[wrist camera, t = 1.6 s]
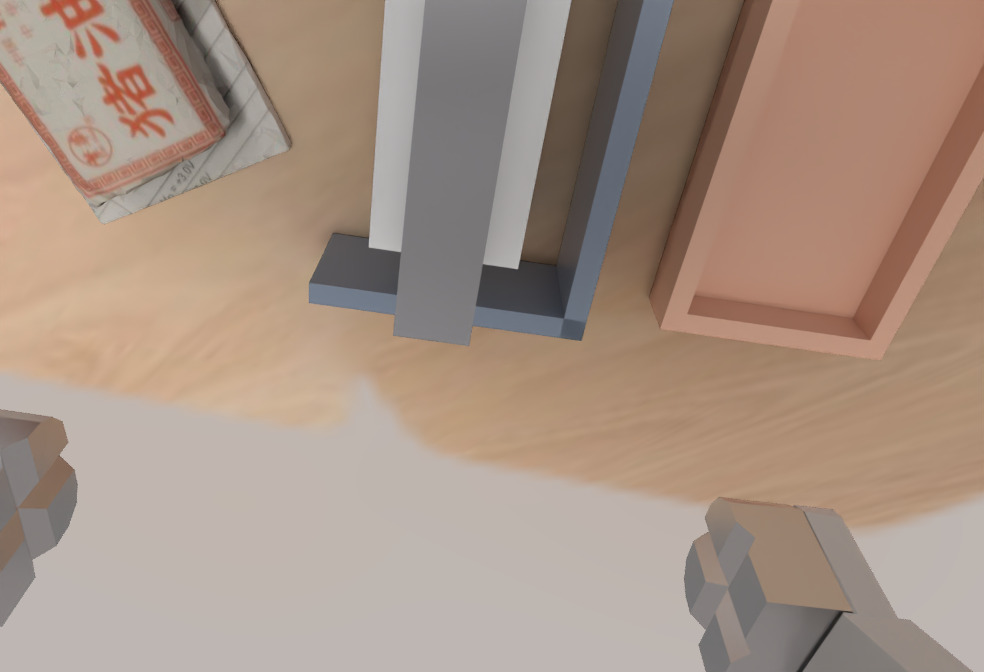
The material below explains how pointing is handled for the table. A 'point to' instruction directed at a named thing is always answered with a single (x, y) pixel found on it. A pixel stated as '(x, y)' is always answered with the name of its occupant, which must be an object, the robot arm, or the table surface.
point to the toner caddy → (459, 147)
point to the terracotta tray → (827, 173)
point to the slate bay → (603, 168)
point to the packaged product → (136, 96)
